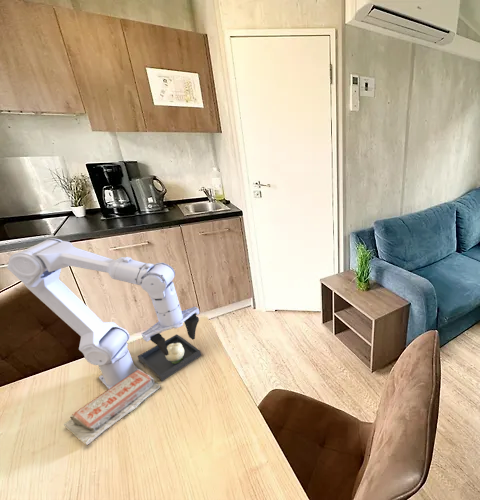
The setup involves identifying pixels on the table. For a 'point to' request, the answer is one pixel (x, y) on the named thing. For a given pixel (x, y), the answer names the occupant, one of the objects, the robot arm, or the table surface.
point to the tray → (159, 362)
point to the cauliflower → (175, 352)
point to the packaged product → (111, 406)
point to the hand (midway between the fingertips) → (179, 345)
